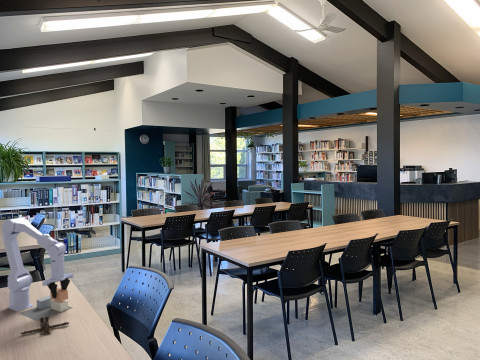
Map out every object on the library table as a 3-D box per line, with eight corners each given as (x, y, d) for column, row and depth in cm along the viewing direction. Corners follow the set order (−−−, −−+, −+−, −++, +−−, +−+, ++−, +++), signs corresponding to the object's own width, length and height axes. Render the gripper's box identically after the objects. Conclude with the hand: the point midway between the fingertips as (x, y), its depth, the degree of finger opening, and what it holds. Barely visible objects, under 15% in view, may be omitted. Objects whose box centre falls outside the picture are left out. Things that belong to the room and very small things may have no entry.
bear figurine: (66, 311, 165) (70, 319, 152) (67, 321, 164) (70, 330, 152) (20, 321, 155) (20, 330, 143) (20, 331, 155) (20, 341, 143)
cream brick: (51, 308, 175) (50, 300, 174) (58, 305, 178) (58, 297, 178) (60, 311, 170) (60, 303, 170) (68, 308, 174) (68, 300, 174)
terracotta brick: (50, 298, 174) (50, 290, 174) (58, 295, 178) (58, 287, 178) (60, 301, 170) (59, 293, 170) (68, 298, 173) (67, 290, 173)
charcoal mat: (18, 313, 170) (17, 313, 170) (53, 301, 184) (53, 301, 184) (37, 321, 161) (37, 320, 161) (73, 308, 175) (72, 307, 175)
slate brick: (41, 309, 174) (41, 301, 174) (36, 308, 176) (36, 299, 176) (57, 304, 180) (57, 296, 180) (52, 302, 183) (52, 294, 182)
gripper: (47, 273, 165) (48, 302, 166) (76, 265, 177) (77, 293, 178) (39, 271, 169) (40, 300, 169) (68, 263, 181) (69, 290, 182)
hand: (59, 296), depth 174 cm, fingers closed on terracotta brick, 4 cm apart
